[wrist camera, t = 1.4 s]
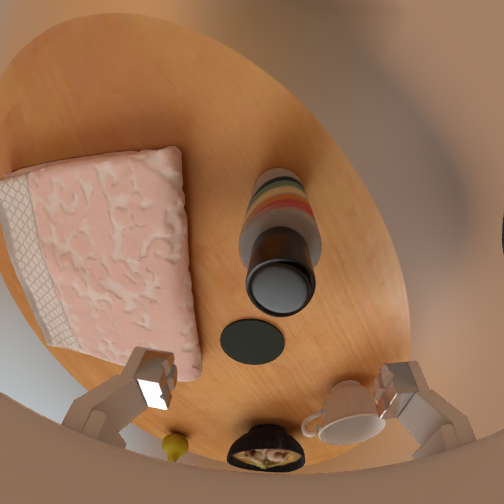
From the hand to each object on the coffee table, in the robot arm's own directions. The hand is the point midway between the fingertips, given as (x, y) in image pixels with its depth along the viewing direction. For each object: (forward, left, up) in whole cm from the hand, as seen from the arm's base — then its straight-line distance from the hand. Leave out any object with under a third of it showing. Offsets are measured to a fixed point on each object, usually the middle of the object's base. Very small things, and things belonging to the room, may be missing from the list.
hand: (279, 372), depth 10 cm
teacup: (+36, +15, -26) cm, 47 cm away
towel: (+13, -27, -25) cm, 39 cm away
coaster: (+24, -2, -25) cm, 35 cm away
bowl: (+55, +3, -26) cm, 61 cm away
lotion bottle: (0, 0, -26) cm, 26 cm away
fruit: (+64, -20, -26) cm, 72 cm away
